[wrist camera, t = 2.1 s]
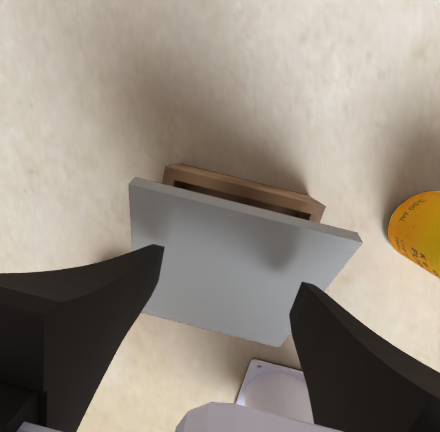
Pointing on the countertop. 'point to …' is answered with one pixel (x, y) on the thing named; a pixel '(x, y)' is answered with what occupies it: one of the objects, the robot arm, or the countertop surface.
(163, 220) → the lid
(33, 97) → the countertop surface
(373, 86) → the countertop surface
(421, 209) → the beer can
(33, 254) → the countertop surface
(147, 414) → the countertop surface
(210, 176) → the box
